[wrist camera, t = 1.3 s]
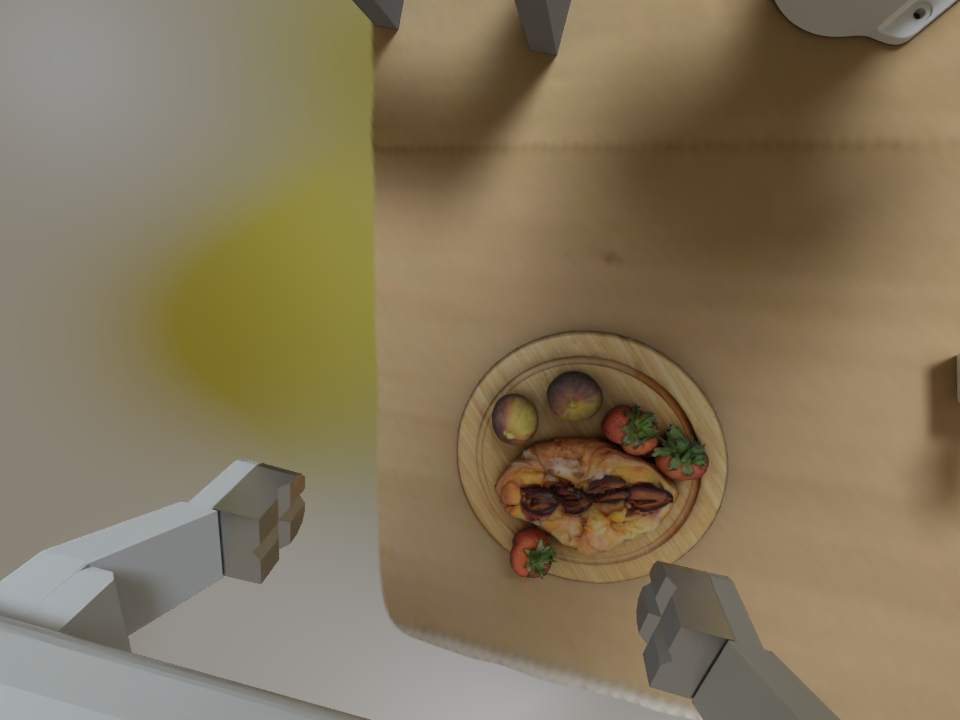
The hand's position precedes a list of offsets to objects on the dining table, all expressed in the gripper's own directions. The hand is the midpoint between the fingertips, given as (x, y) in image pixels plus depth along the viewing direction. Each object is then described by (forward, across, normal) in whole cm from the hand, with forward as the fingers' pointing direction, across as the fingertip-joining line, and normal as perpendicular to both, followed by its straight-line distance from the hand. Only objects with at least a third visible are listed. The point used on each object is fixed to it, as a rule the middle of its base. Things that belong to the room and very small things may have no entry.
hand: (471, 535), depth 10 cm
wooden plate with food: (+40, -11, +23) cm, 48 cm away
